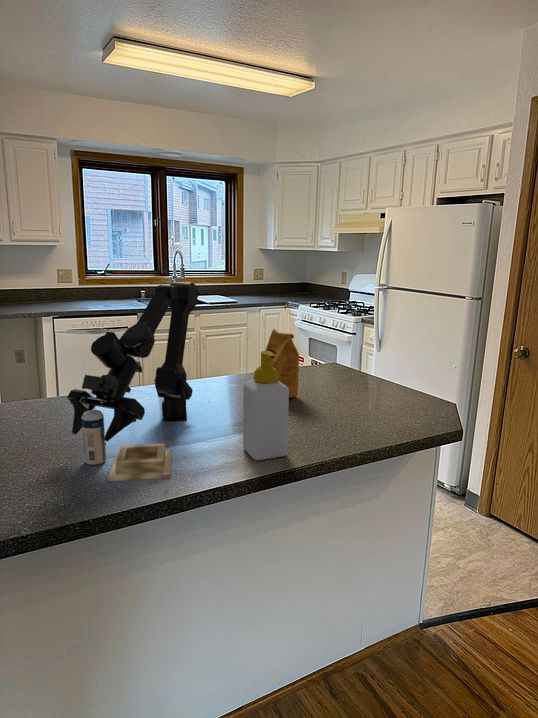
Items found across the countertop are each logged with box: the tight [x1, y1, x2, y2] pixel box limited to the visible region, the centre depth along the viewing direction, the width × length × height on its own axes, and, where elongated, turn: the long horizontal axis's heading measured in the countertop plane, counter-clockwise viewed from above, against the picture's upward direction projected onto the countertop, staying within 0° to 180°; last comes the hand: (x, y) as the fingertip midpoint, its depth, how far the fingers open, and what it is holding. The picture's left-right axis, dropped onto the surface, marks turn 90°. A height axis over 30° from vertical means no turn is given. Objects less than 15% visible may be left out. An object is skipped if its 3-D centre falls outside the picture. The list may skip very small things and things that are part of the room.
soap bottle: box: [242, 350, 290, 461], centre depth 120 cm, size 9×9×25 cm
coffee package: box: [265, 328, 300, 399], centre depth 167 cm, size 10×12×22 cm
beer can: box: [81, 409, 107, 466], centre depth 115 cm, size 5×5×12 cm
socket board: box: [107, 442, 173, 482], centre depth 114 cm, size 13×13×3 cm
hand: (89, 437), depth 114 cm, fingers open, 9 cm apart
